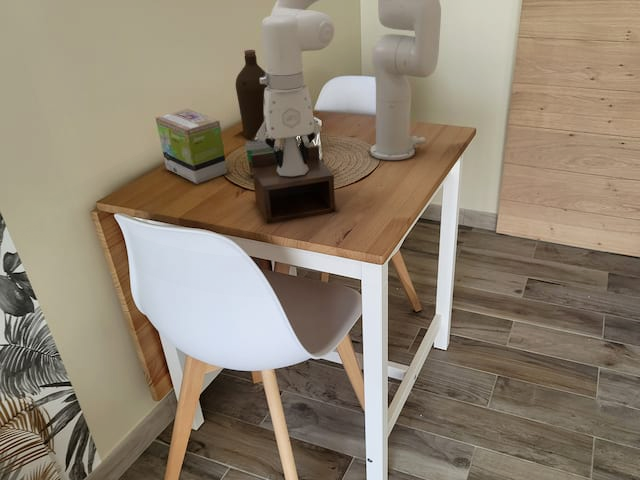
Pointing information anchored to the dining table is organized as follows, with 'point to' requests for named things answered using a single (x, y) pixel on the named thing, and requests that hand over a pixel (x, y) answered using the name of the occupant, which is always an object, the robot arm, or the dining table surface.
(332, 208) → the spice shelf
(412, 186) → the dining table surface
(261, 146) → the food container
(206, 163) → the tea box
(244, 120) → the olive oil
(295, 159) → the flask
